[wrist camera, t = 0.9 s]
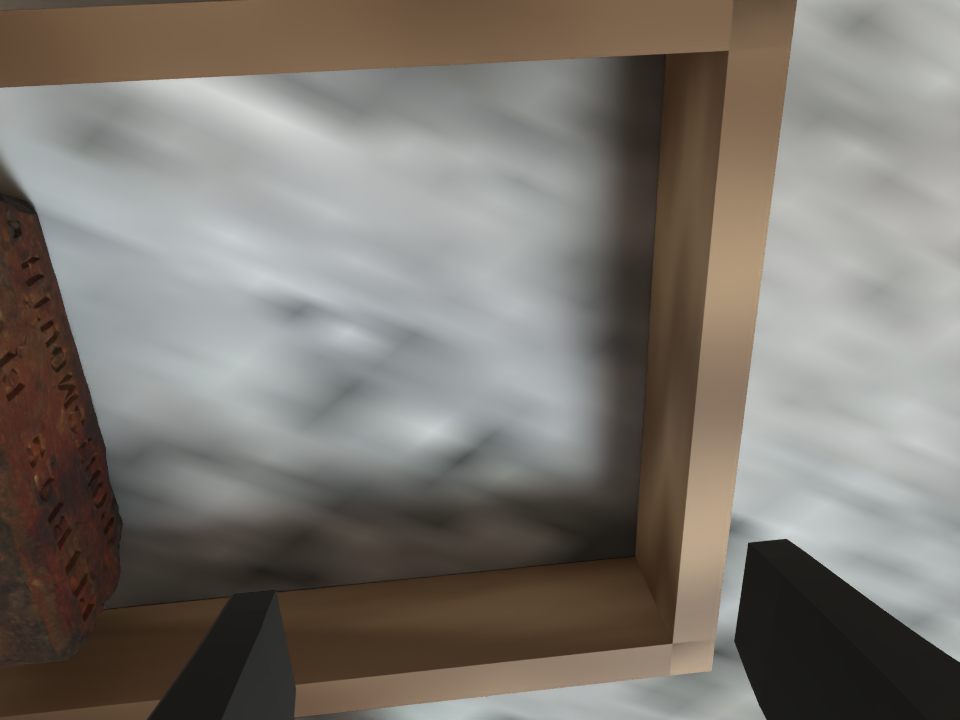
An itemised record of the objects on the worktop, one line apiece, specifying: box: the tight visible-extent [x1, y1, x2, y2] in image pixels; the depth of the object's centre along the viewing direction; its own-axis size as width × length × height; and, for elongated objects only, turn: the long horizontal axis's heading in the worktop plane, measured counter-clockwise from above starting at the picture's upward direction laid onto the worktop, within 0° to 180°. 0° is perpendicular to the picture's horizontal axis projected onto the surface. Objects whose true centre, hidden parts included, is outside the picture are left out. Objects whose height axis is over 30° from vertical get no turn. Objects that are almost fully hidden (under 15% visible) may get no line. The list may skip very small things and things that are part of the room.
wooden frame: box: [0, 0, 797, 720], centre depth 18 cm, size 17×22×4 cm
